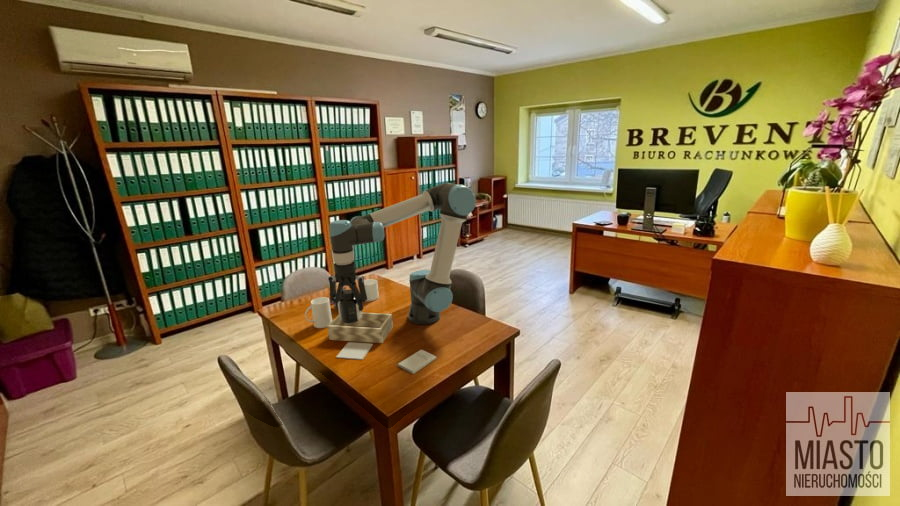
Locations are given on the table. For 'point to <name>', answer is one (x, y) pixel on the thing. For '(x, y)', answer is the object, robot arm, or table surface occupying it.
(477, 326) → the table surface
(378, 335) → the crate
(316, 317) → the mug
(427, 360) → the external hard drive
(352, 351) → the pad
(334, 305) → the purple spiky ball
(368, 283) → the mug
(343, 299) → the supplement bottle
